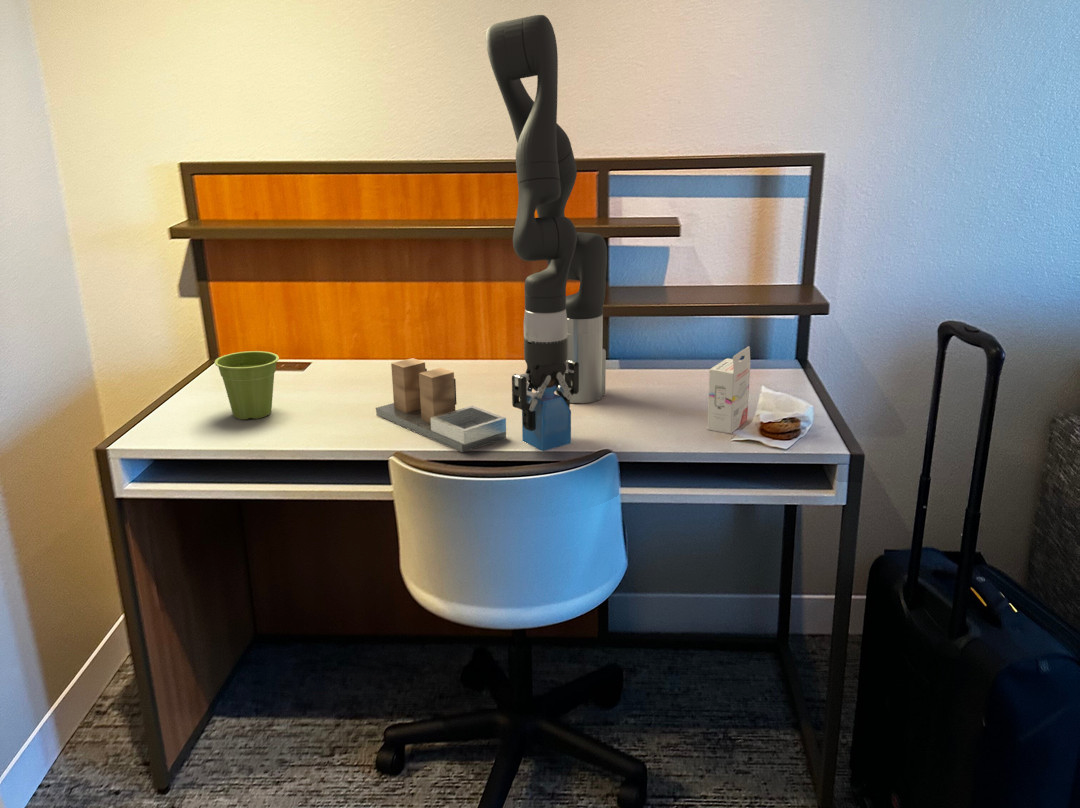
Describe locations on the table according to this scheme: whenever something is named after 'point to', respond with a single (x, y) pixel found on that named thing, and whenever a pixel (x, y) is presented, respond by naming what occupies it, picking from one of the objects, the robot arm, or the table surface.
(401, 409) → the walnut finger rear
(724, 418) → the ink cartridge box
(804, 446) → the table surface
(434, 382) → the walnut finger front
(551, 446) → the perfume bottle
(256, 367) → the plant pot
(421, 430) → the grey rectangular tray
